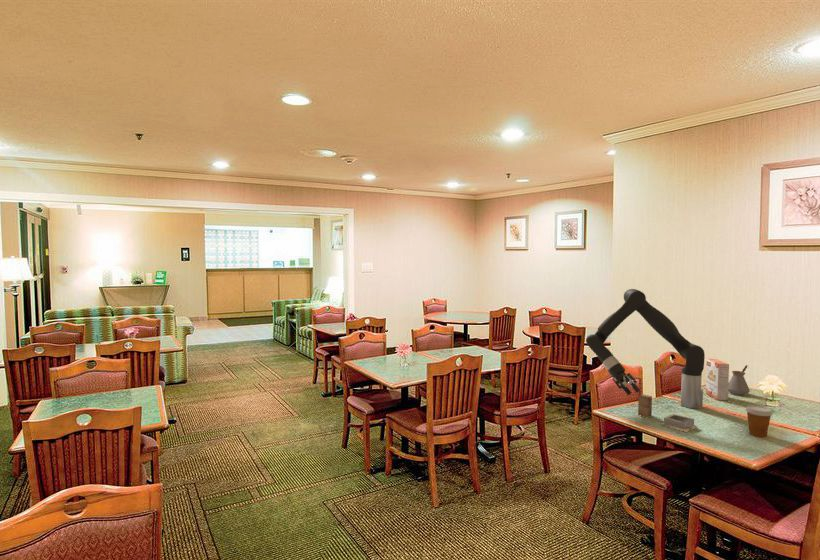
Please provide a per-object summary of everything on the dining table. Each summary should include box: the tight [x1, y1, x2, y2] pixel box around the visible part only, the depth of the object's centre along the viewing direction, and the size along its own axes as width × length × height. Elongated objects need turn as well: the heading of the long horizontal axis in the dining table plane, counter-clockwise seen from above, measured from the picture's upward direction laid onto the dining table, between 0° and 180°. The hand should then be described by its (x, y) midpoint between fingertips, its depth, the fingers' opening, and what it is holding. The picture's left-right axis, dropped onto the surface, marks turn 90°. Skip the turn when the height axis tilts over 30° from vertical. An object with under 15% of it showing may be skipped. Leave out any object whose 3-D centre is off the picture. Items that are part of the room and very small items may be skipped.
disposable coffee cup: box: [745, 405, 773, 438], centre depth 213 cm, size 10×10×12 cm
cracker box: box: [705, 358, 730, 402], centre depth 272 cm, size 14×6×21 cm, turn 172°
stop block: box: [637, 393, 653, 418], centre depth 238 cm, size 4×4×10 cm
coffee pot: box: [728, 364, 751, 396], centre depth 283 cm, size 21×12×15 cm, turn 129°
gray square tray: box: [661, 413, 698, 433], centre depth 223 cm, size 11×11×4 cm
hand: (634, 393), depth 243 cm, fingers open, 8 cm apart
